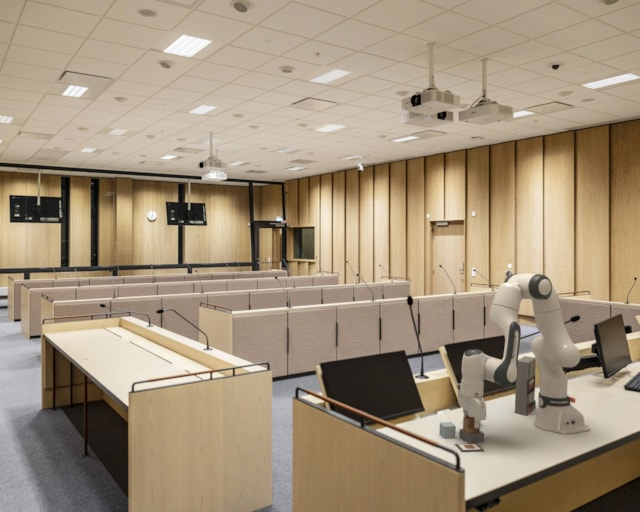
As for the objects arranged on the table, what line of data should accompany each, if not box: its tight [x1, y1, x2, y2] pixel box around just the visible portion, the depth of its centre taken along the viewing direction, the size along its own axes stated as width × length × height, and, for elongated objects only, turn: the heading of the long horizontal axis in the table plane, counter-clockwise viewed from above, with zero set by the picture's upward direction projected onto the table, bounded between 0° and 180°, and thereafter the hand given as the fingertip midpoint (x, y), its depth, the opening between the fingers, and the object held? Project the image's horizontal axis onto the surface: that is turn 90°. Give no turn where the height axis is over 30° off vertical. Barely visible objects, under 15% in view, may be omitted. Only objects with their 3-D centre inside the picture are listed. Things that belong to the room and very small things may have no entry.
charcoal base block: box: [458, 428, 485, 444], centre depth 214 cm, size 7×7×4 cm
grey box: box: [514, 355, 537, 416], centre depth 252 cm, size 14×6×25 cm, turn 143°
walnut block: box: [462, 416, 481, 433], centre depth 214 cm, size 5×5×5 cm
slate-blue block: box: [439, 421, 457, 439], centre depth 218 cm, size 5×5×5 cm
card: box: [454, 443, 485, 453], centre depth 206 cm, size 9×7×1 cm
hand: (471, 423), depth 214 cm, fingers open, 8 cm apart
